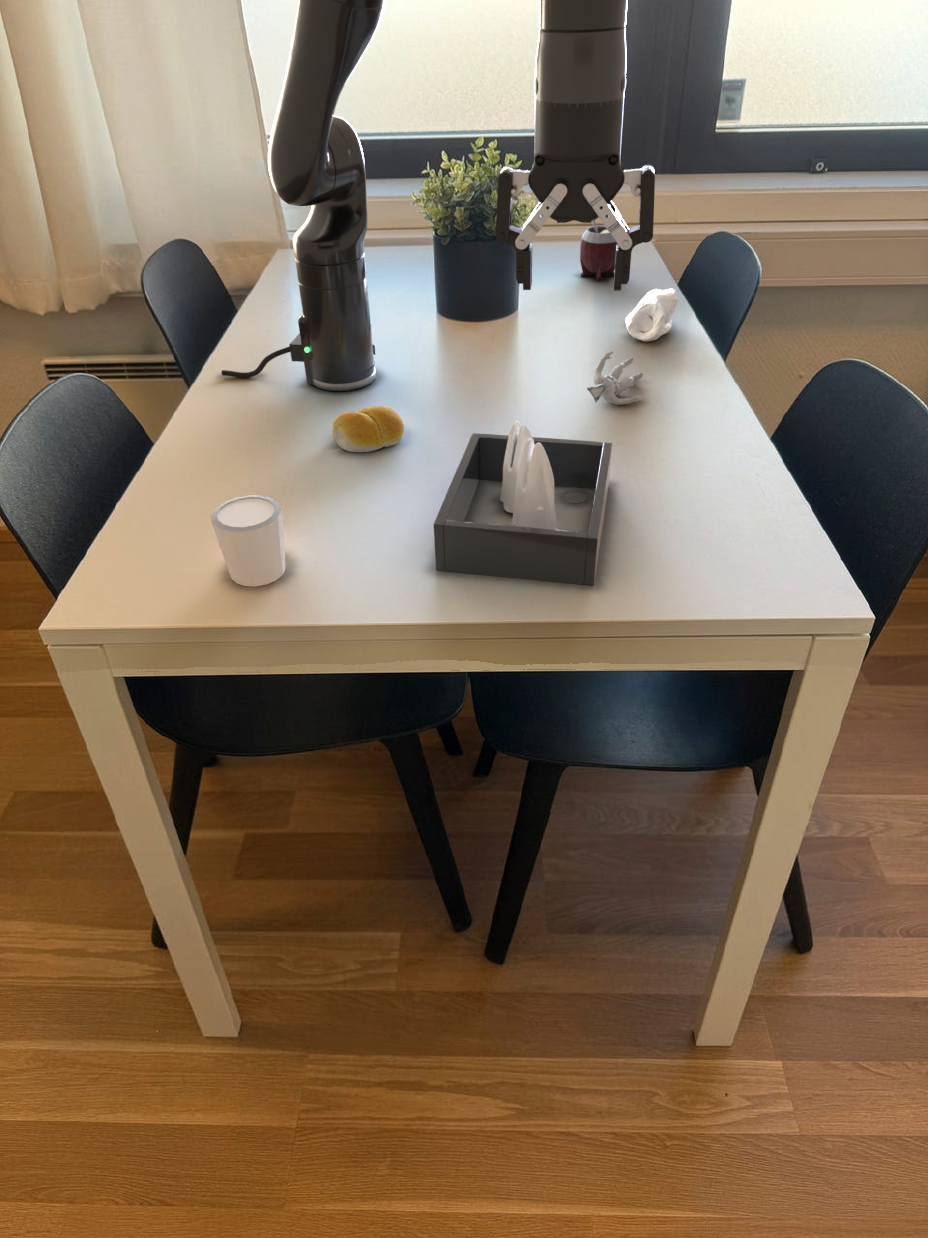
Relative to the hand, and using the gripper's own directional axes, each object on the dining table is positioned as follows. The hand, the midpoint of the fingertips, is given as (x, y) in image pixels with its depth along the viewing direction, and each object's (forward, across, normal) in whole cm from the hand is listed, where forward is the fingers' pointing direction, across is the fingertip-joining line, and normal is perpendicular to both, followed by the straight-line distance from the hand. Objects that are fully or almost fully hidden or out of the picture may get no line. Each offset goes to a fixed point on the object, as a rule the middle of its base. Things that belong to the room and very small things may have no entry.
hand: (571, 287), depth 85 cm
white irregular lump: (+24, -11, -55) cm, 61 cm away
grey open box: (+24, +4, +4) cm, 25 cm away
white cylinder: (+24, +30, +16) cm, 42 cm away
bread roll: (+24, +26, -14) cm, 38 cm away
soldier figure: (+24, -6, -30) cm, 39 cm away
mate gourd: (+24, -2, -82) cm, 86 cm away
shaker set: (+24, +4, +4) cm, 25 cm away
